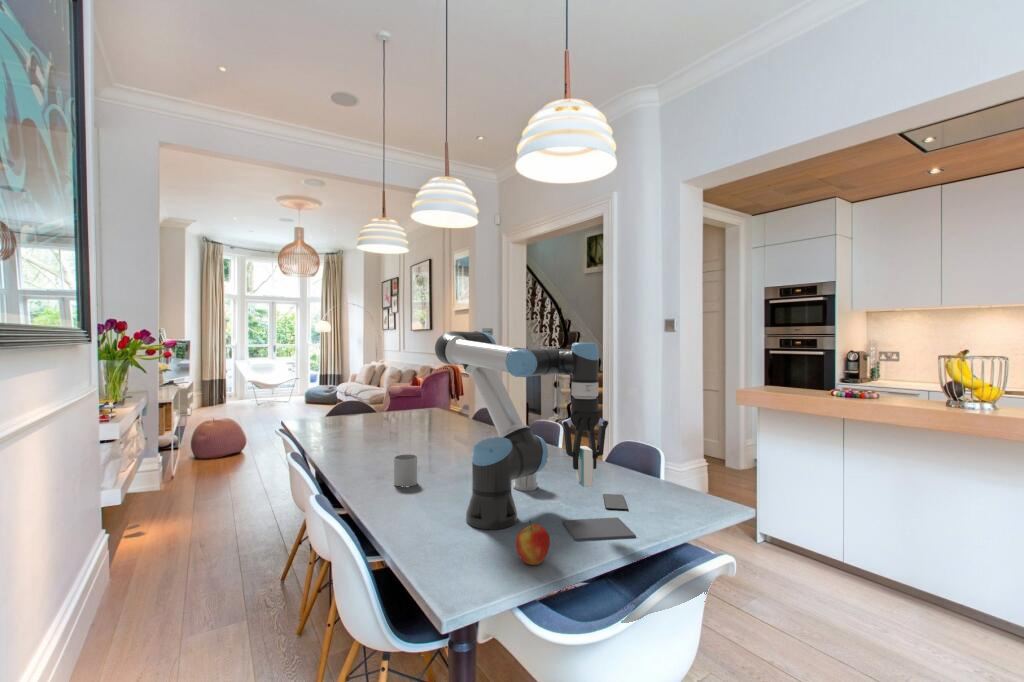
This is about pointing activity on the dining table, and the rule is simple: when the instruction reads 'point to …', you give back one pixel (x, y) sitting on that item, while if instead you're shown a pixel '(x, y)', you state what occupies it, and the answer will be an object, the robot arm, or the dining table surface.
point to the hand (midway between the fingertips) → (584, 480)
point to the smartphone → (615, 502)
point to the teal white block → (586, 466)
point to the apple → (533, 544)
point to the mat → (598, 529)
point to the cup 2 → (526, 483)
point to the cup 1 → (405, 470)
